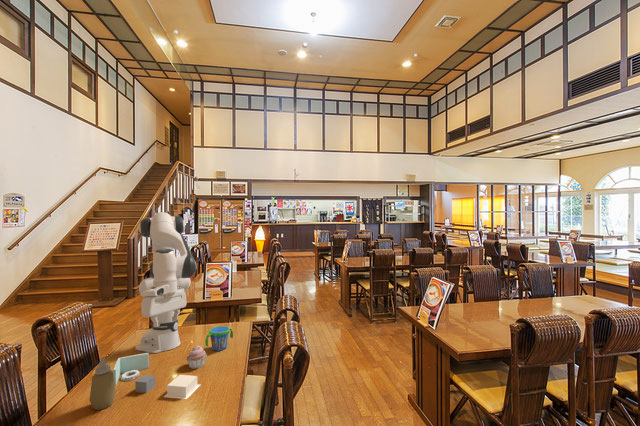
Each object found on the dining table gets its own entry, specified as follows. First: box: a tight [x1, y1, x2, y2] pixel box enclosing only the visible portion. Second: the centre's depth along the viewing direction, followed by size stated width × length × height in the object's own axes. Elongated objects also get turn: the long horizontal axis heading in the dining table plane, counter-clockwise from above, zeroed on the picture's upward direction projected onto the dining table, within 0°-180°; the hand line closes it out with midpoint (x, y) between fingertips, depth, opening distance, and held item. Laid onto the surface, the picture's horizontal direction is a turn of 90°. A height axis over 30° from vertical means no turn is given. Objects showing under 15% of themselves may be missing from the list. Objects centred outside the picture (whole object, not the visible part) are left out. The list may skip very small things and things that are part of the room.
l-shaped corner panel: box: [112, 352, 150, 387], centre depth 134 cm, size 12×12×8 cm
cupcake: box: [186, 345, 208, 370], centre depth 142 cm, size 9×9×10 cm
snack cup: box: [204, 325, 234, 352], centre depth 161 cm, size 16×10×10 cm
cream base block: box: [166, 374, 198, 397], centre depth 121 cm, size 8×8×4 cm
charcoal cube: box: [135, 374, 156, 394], centre depth 123 cm, size 5×5×5 cm
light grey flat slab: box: [163, 383, 201, 400], centre depth 121 cm, size 18×14×1 cm
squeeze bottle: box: [89, 356, 117, 411], centre depth 113 cm, size 8×8×18 cm
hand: (166, 323), depth 121 cm, fingers open, 8 cm apart
